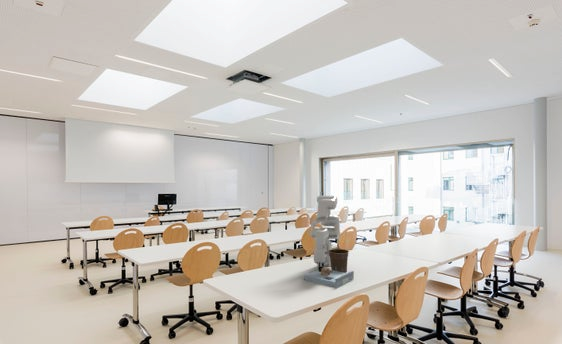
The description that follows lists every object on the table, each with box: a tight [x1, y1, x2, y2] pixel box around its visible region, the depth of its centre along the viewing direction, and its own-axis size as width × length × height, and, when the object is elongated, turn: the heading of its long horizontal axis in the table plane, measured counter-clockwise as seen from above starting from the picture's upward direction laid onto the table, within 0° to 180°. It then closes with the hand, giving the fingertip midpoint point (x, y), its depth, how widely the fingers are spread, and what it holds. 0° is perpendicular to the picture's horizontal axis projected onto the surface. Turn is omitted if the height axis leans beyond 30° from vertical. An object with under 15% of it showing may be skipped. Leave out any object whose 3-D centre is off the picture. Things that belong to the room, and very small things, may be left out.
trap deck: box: [303, 269, 355, 288], centre depth 225 cm, size 24×28×6 cm
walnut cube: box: [321, 266, 331, 276], centre depth 226 cm, size 4×4×4 cm
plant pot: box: [328, 248, 350, 273], centre depth 245 cm, size 16×16×16 cm
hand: (320, 271), depth 230 cm, fingers closed
